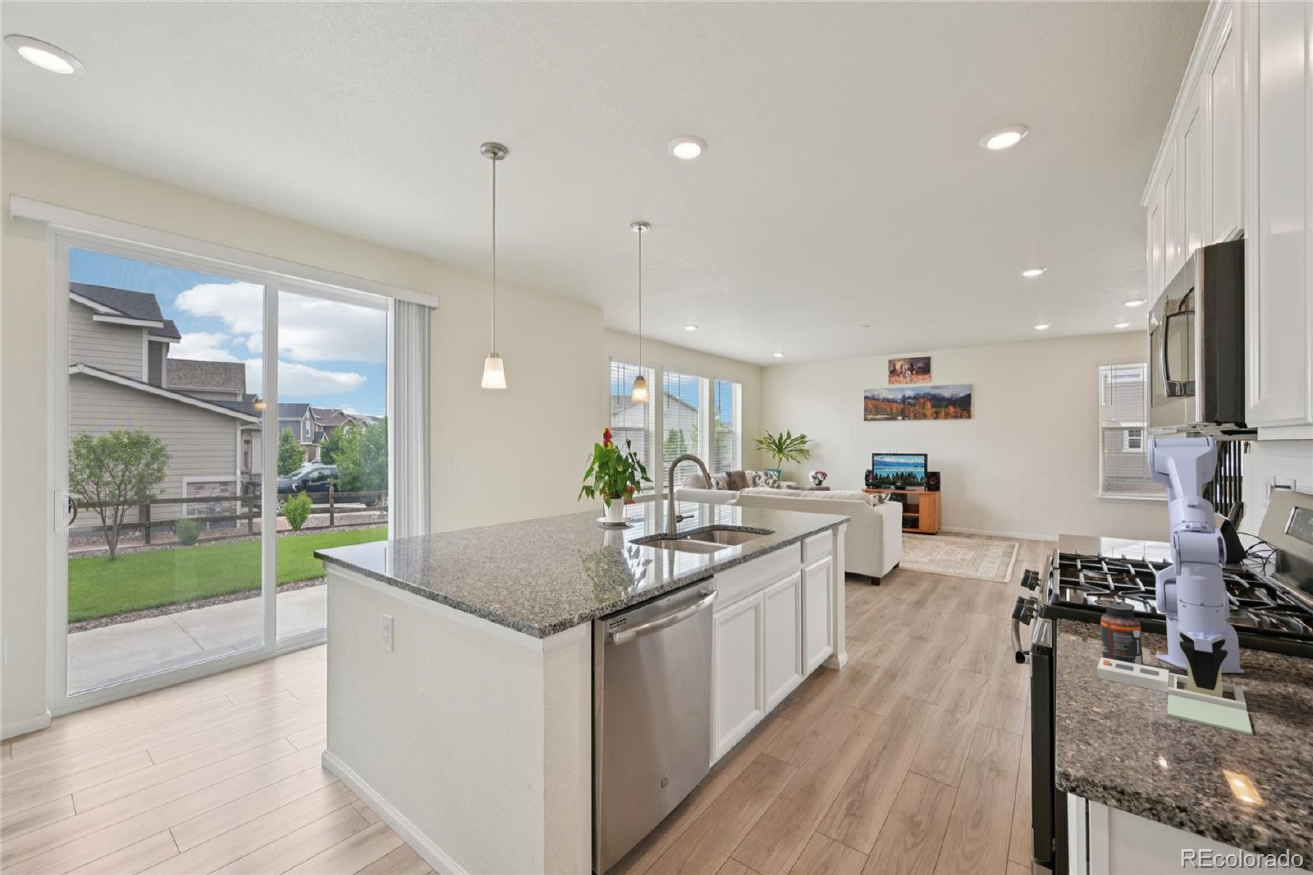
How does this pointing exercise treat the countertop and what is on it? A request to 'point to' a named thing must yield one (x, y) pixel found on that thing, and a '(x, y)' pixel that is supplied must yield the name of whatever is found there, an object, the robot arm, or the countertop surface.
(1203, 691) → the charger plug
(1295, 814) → the countertop surface
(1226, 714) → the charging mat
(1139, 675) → the white slotted frame
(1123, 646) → the supplement bottle
